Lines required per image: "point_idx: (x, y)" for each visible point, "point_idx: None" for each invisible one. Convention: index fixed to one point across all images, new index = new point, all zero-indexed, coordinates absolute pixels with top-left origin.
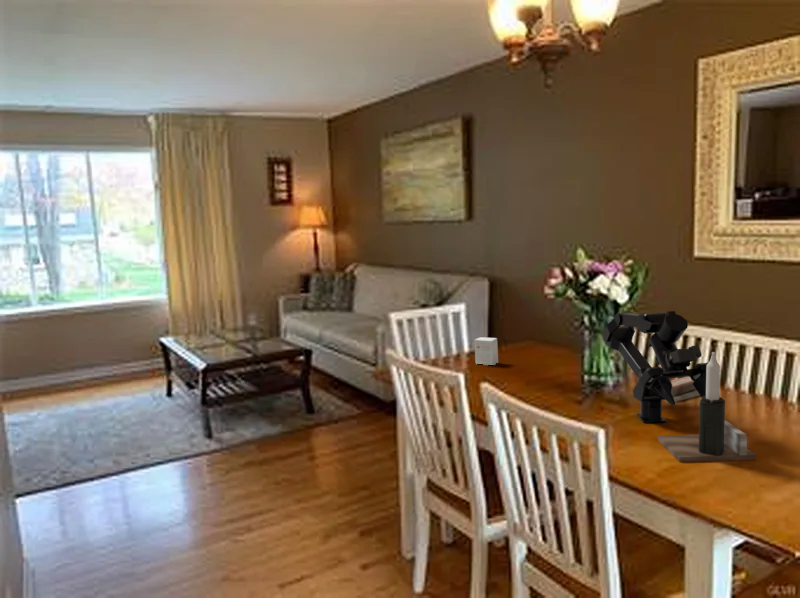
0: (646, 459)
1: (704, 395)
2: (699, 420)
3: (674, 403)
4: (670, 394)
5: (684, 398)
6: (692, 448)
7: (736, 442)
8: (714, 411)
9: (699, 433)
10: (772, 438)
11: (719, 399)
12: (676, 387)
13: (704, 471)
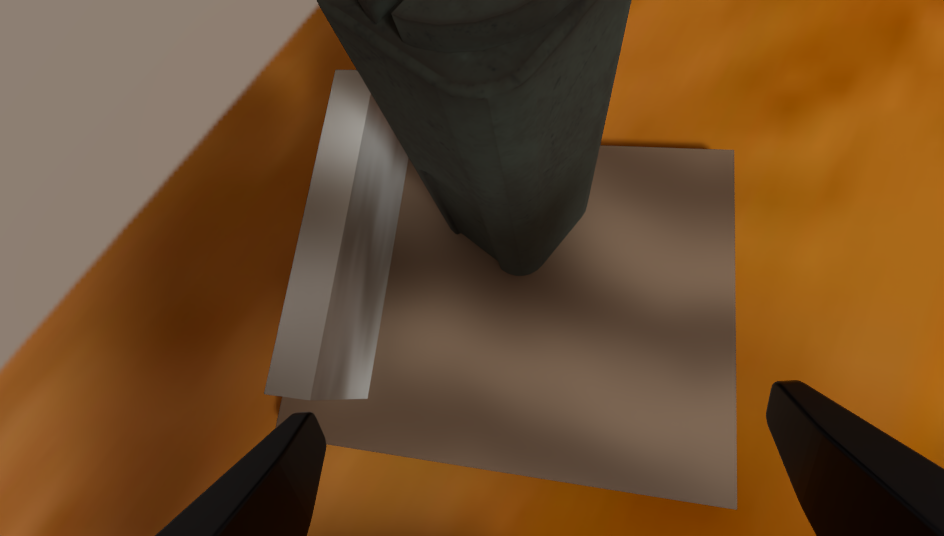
0: (910, 215)
1: (284, 476)
2: (608, 102)
3: (790, 381)
4: (915, 482)
5: None
6: (600, 253)
7: (388, 144)
8: None
9: (598, 152)
10: (89, 379)
11: None
12: None
13: (647, 55)
